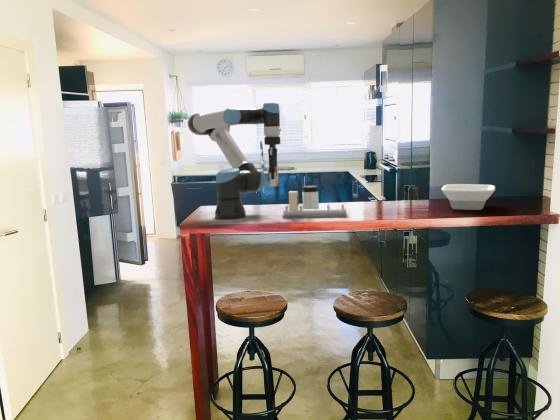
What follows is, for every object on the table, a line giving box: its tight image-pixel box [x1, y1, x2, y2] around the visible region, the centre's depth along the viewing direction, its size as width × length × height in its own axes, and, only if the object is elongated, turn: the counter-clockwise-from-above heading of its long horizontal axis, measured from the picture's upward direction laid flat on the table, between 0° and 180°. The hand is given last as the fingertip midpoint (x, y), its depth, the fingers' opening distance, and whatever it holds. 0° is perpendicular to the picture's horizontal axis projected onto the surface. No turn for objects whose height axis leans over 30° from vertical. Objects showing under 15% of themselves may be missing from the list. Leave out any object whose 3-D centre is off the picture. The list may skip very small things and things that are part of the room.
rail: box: [282, 190, 348, 219], centre depth 220 cm, size 30×9×12 cm, turn 83°
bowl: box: [440, 183, 496, 211], centre depth 227 cm, size 24×25×10 cm
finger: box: [267, 166, 279, 188], centre depth 221 cm, size 4×4×9 cm
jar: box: [301, 185, 320, 209], centre depth 241 cm, size 9×8×12 cm
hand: (273, 185), depth 221 cm, fingers closed on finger, 4 cm apart
